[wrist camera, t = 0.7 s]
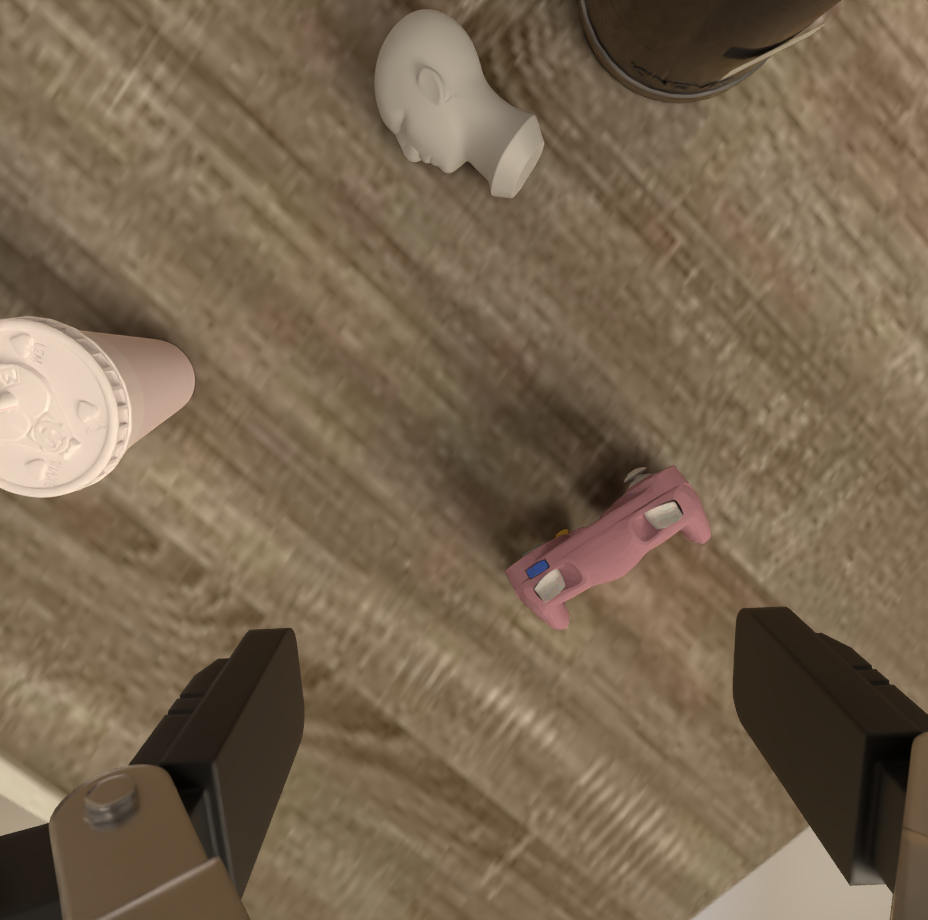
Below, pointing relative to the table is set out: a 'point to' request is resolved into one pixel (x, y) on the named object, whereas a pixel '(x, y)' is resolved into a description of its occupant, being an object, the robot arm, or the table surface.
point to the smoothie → (79, 401)
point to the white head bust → (451, 104)
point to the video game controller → (608, 543)
